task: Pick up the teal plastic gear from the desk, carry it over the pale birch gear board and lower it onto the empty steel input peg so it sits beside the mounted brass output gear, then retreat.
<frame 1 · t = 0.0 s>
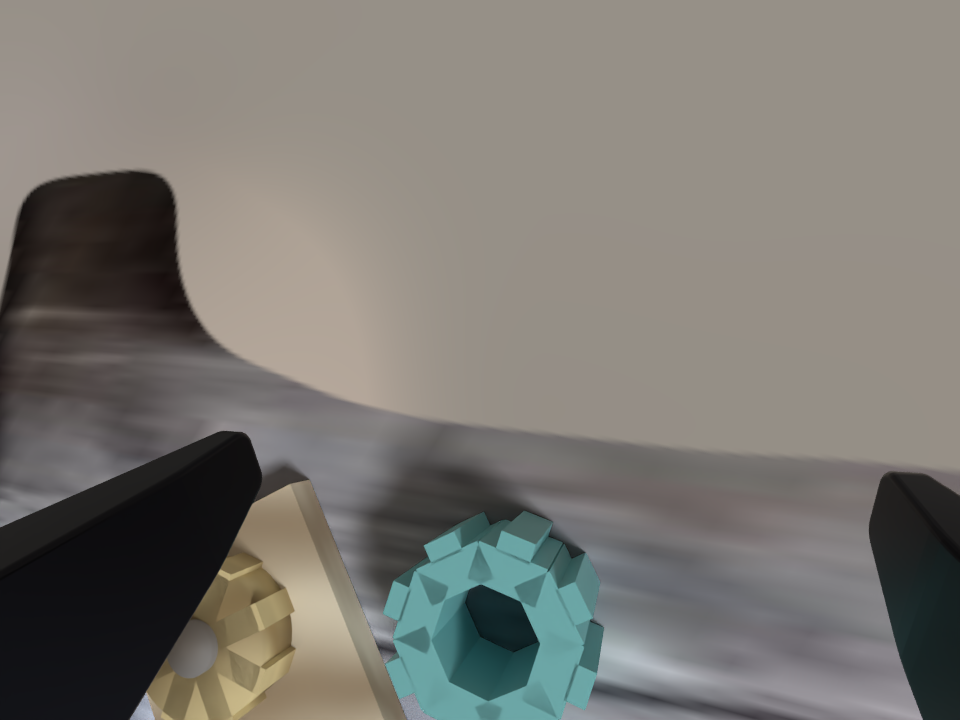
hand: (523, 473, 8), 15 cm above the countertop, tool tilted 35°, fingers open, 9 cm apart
gear board: (284, 701, 25), on the countertop
teal gear: (509, 603, 23), on the countertop
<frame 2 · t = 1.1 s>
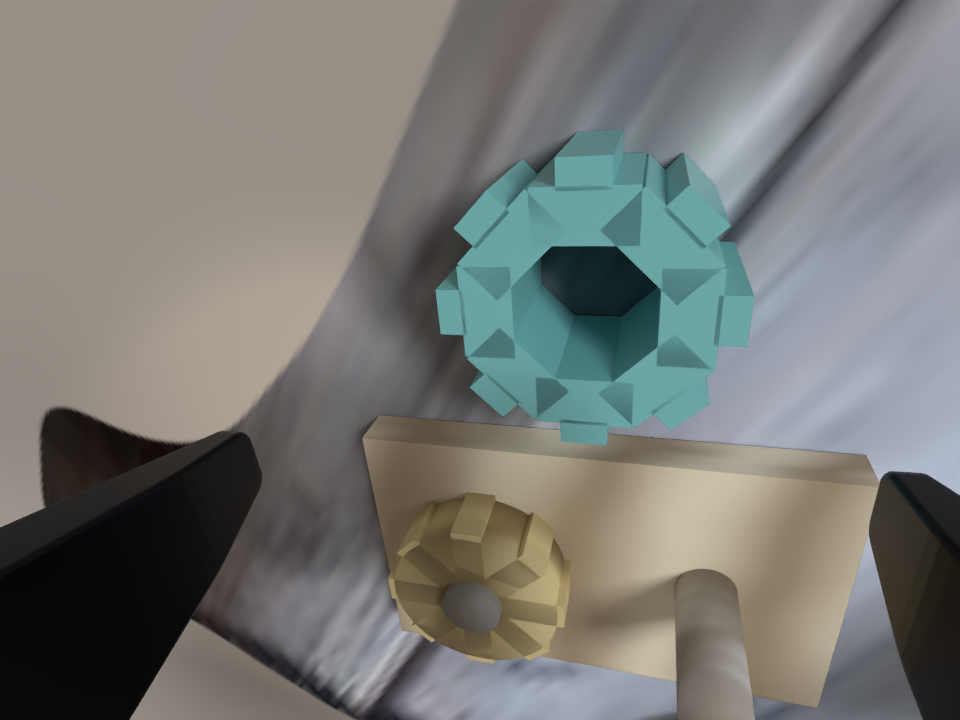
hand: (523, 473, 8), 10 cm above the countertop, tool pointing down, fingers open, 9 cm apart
gear board: (595, 543, 22), on the countertop
teal gear: (598, 262, 17), on the countertop
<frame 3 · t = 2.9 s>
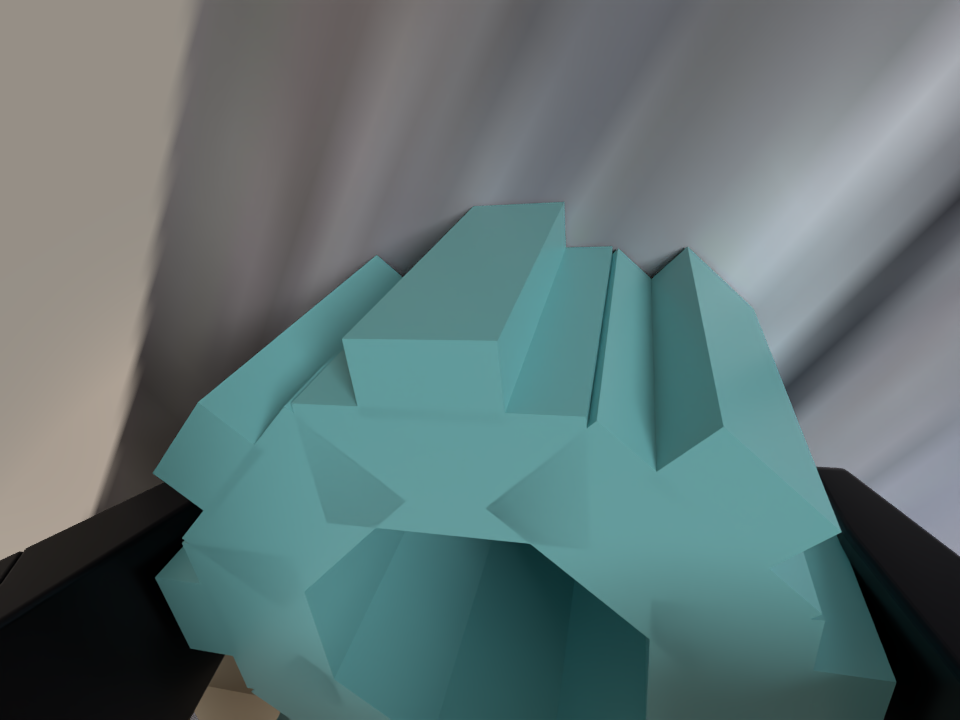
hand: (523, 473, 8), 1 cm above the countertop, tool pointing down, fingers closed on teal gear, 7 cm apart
teal gear: (534, 432, 9), on the countertop, touching gripper
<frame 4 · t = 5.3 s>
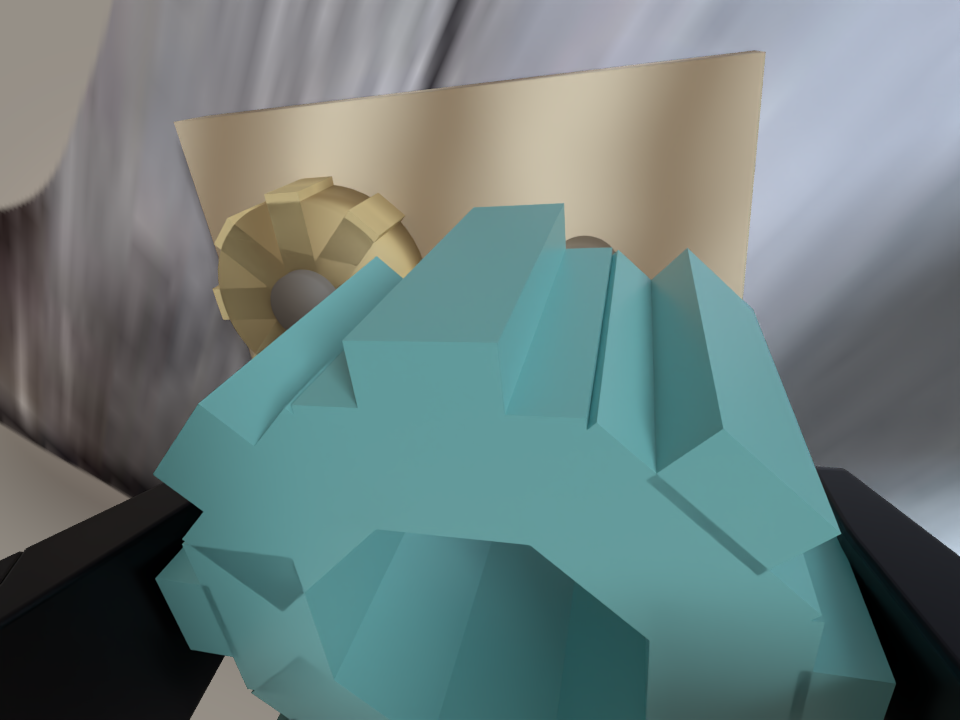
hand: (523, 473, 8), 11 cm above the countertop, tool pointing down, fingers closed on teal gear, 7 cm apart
gear board: (468, 258, 19), on the countertop
teal gear: (534, 433, 9), point 10 cm above the countertop, touching gripper
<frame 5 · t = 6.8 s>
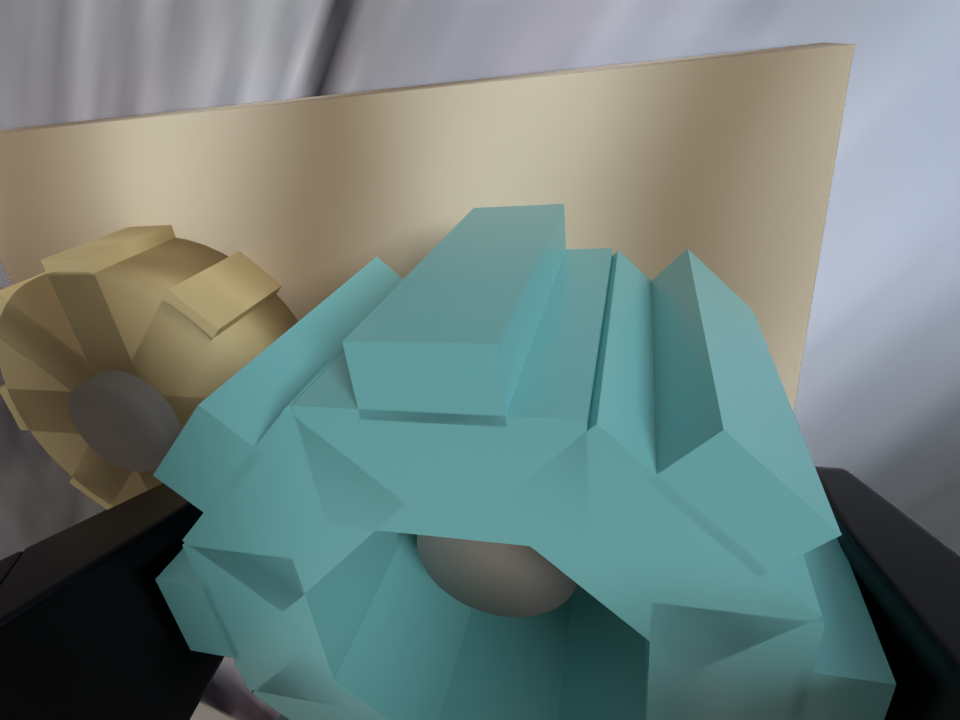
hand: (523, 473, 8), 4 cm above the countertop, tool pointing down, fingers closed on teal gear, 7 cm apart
gear board: (387, 337, 13), on the countertop
teal gear: (534, 434, 9), point 3 cm above the countertop, touching gripper
when the fingers open (4 cm above the countertop, at t = 7.9 s): teal gear drops 1 cm, resting on gear board.
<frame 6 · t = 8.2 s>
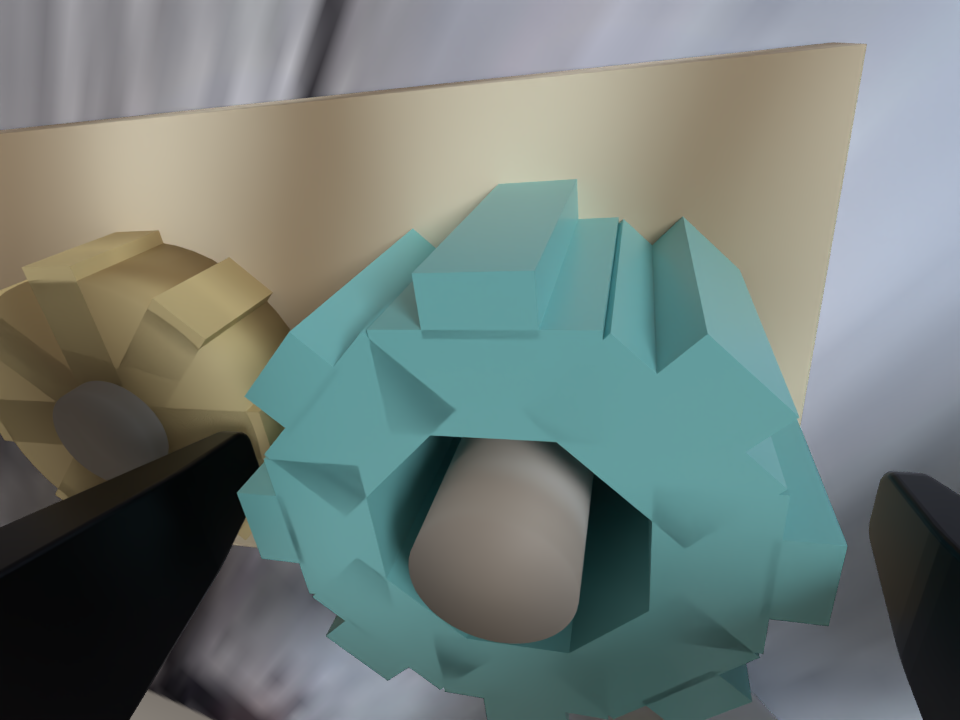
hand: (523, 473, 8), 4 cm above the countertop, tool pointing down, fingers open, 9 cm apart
gear board: (382, 345, 13), on the countertop
teal gear: (549, 386, 11), point 1 cm above the countertop, touching gear board
plastic bottle: (668, 695, 16), on the countertop
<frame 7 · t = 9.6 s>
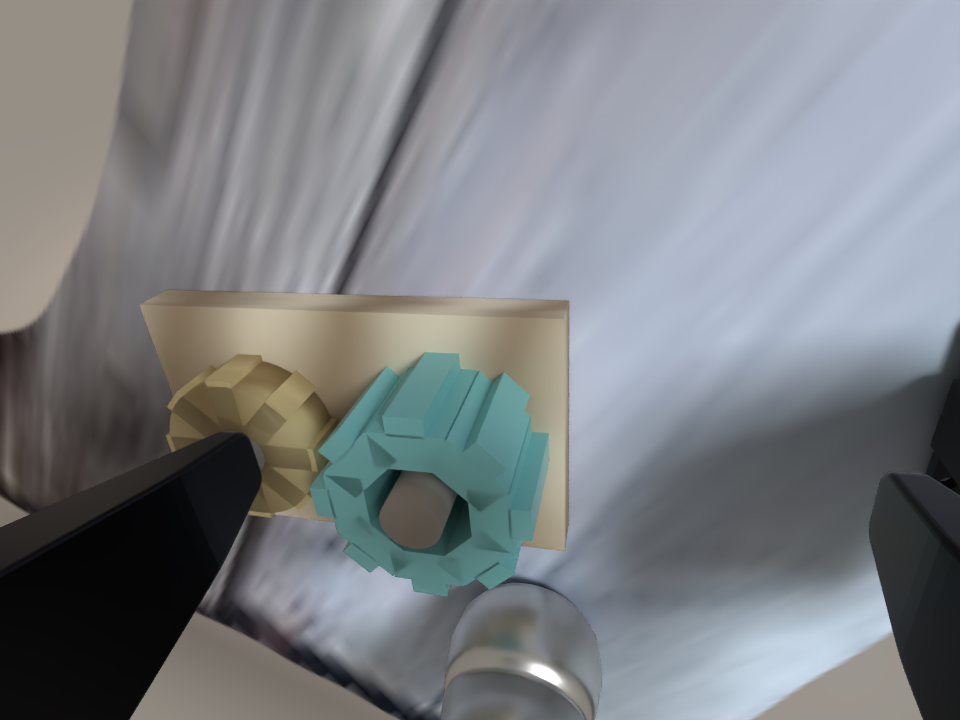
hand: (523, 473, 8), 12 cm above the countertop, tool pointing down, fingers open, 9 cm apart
gear board: (371, 409, 24), on the countertop
teal gear: (452, 439, 22), point 1 cm above the countertop, touching gear board
plastic bottle: (534, 610, 28), on the countertop
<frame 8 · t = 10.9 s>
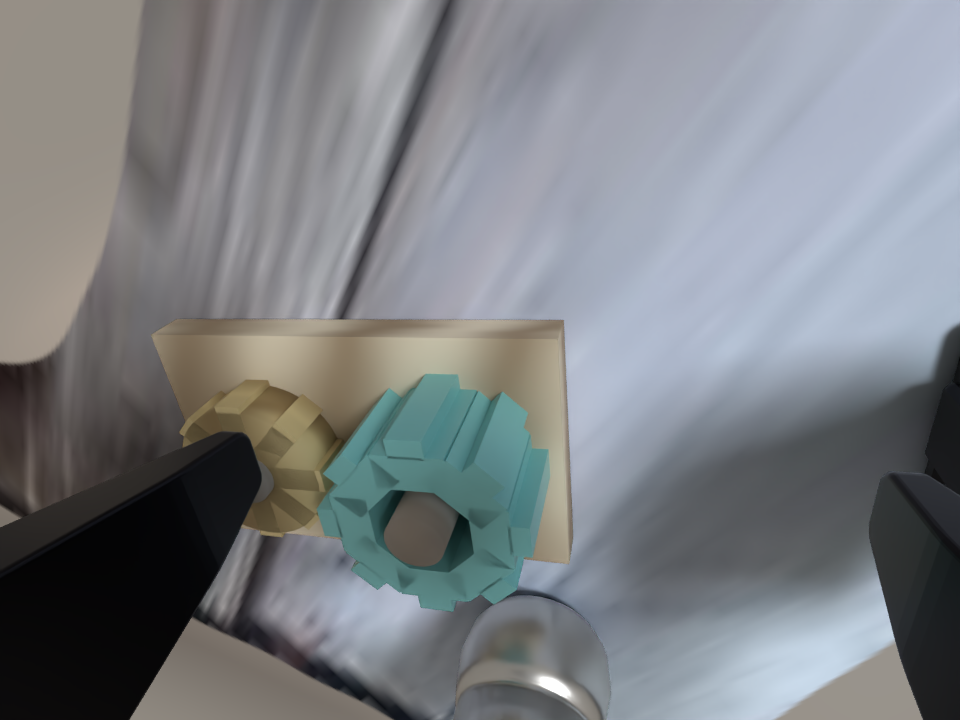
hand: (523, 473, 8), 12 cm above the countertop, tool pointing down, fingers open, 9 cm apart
gear board: (376, 428, 25), on the countertop
teal gear: (454, 456, 22), point 1 cm above the countertop, touching gear board
plastic bottle: (543, 622, 28), on the countertop
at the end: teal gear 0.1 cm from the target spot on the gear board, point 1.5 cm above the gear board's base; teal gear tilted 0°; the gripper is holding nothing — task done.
